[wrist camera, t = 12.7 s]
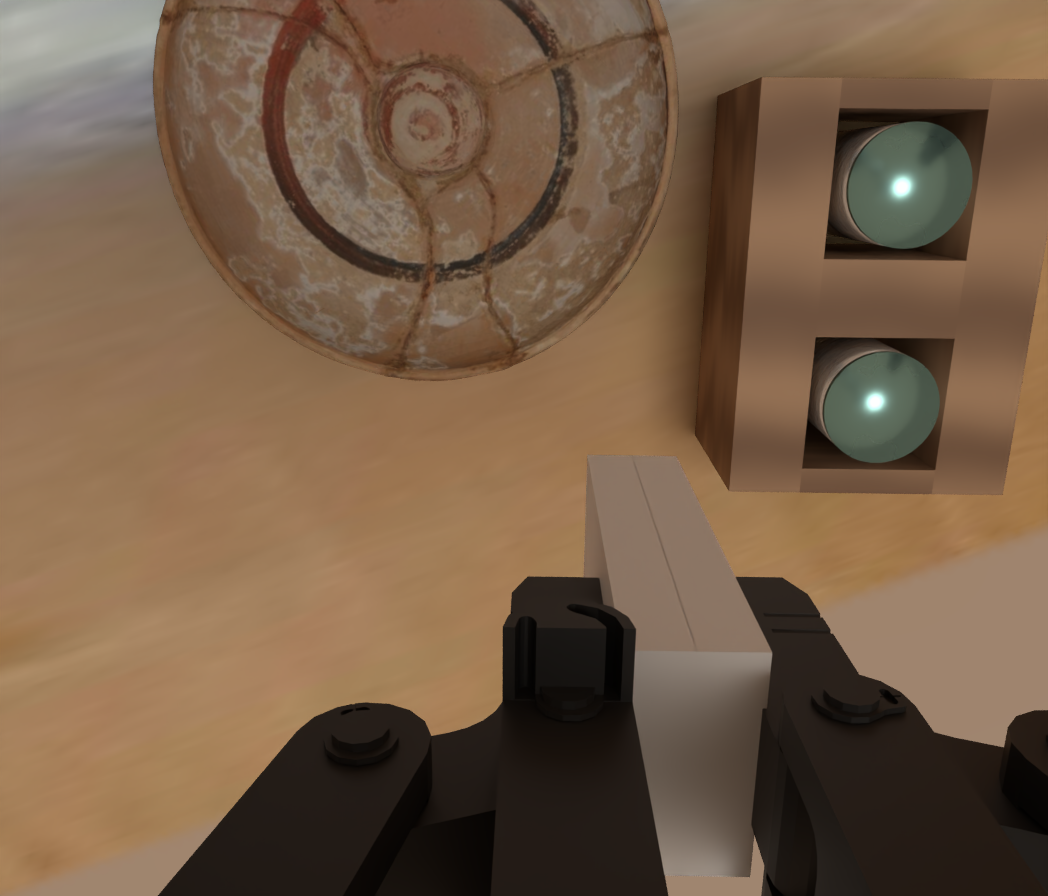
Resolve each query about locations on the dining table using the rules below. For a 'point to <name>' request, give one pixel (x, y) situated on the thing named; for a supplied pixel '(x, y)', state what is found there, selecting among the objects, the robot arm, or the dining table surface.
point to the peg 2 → (871, 398)
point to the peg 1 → (898, 184)
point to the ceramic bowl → (419, 166)
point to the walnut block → (867, 282)
